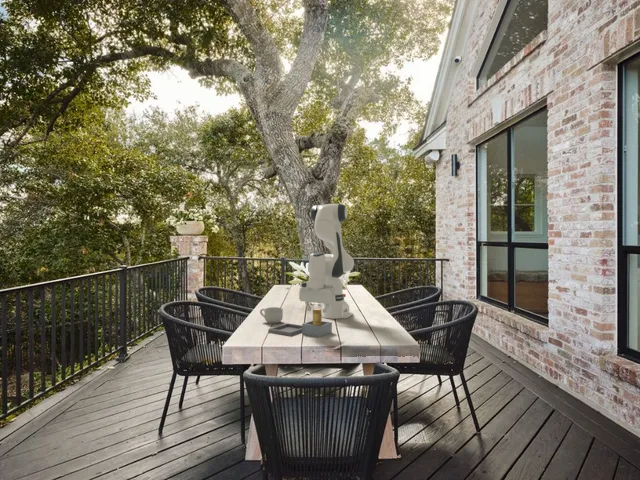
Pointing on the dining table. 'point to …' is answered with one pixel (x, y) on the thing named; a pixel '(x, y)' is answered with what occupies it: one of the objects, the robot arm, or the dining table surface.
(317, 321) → the peg
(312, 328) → the grey open box
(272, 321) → the teacup
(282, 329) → the tray
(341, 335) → the dining table surface
